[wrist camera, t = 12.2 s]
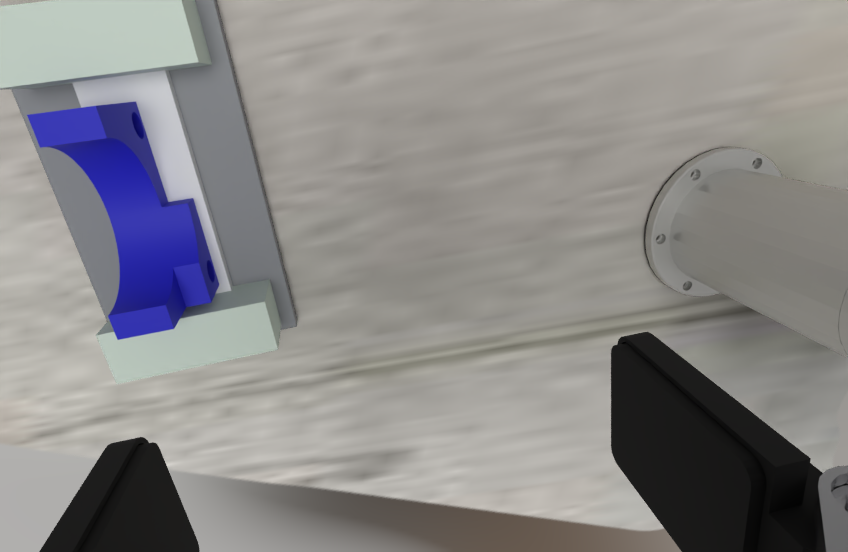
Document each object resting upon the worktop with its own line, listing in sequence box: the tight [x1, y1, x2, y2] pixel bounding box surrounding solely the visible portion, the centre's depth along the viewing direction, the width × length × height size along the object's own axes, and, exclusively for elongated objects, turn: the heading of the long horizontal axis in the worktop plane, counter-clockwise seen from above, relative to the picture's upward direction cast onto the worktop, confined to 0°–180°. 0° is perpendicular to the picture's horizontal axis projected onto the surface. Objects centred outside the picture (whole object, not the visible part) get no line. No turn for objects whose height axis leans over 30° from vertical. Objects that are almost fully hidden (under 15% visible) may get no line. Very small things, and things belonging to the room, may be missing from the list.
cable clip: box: [27, 101, 219, 340], centre depth 29 cm, size 12×4×6 cm, turn 8°
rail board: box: [0, 0, 297, 384], centre depth 31 cm, size 12×22×5 cm, turn 8°
